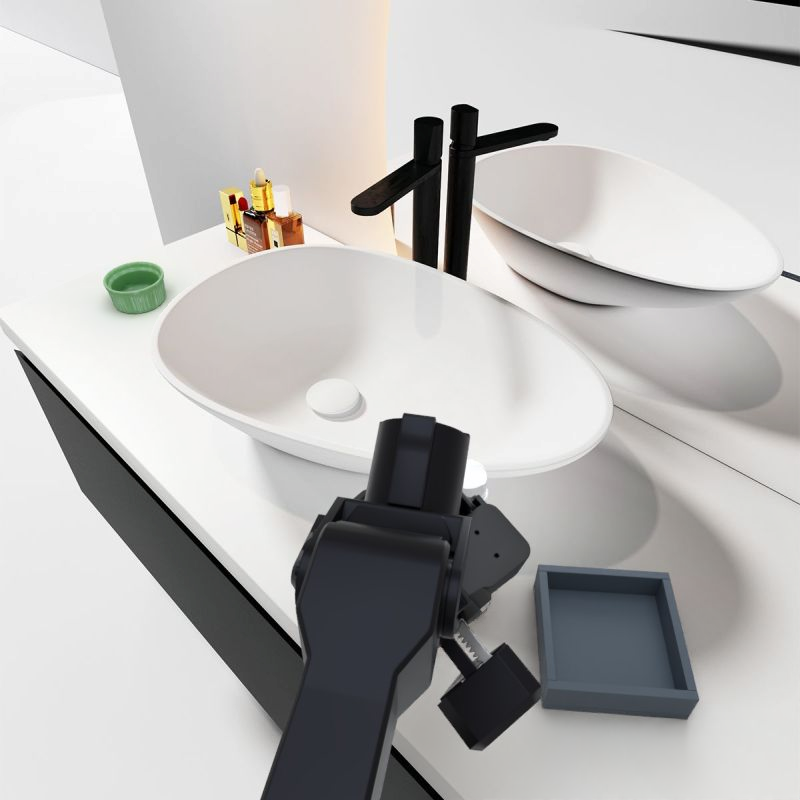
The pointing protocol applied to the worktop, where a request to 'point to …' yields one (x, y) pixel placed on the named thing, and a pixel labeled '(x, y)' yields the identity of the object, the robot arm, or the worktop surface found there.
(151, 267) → the ramekin
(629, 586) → the bin
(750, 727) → the worktop surface
